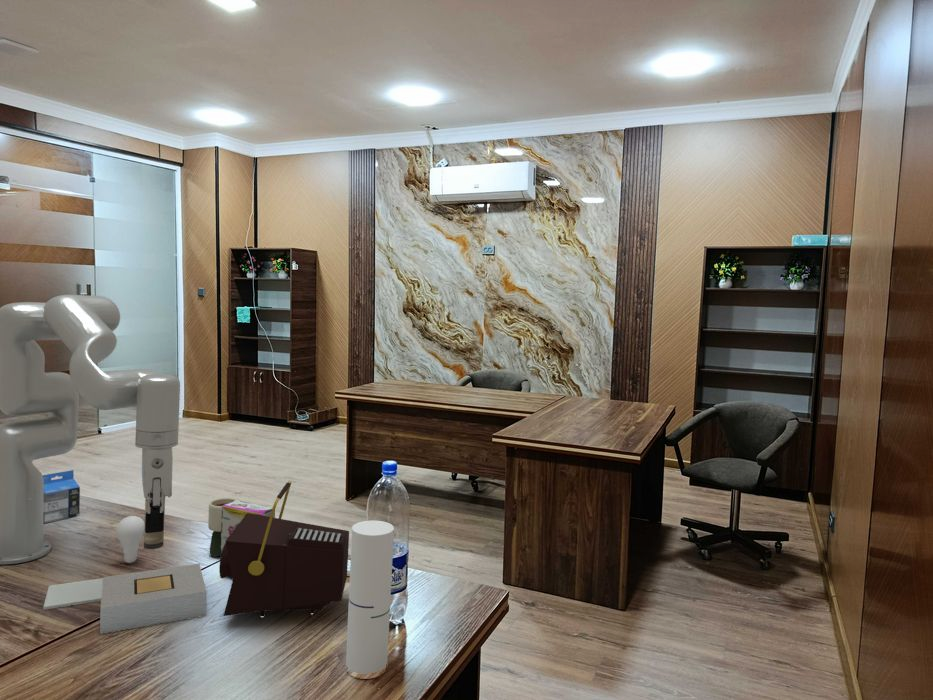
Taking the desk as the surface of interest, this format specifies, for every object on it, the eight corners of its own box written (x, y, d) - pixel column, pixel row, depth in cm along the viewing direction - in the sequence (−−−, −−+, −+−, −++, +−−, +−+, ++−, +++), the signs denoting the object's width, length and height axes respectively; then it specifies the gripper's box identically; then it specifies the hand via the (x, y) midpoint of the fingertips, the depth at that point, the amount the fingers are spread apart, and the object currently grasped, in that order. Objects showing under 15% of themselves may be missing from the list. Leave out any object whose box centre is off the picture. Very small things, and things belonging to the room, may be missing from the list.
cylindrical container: (347, 655, 111) (354, 520, 109) (387, 656, 112) (394, 521, 110) (343, 679, 104) (349, 534, 102) (386, 679, 104) (393, 535, 103)
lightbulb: (150, 558, 146) (151, 513, 146) (134, 569, 140) (135, 522, 139) (126, 556, 147) (127, 511, 146) (109, 567, 141) (110, 519, 140)
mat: (43, 610, 121) (43, 607, 121) (49, 588, 129) (49, 585, 129) (102, 600, 125) (102, 598, 125) (104, 580, 134) (104, 577, 134)
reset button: (137, 608, 119) (137, 593, 119) (136, 594, 125) (136, 580, 125) (171, 602, 122) (171, 588, 122) (169, 589, 128) (169, 575, 127)
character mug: (248, 556, 151) (250, 504, 150) (221, 564, 145) (222, 510, 144) (225, 543, 158) (226, 493, 157) (198, 551, 152) (199, 499, 151)
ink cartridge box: (44, 524, 164) (44, 478, 163) (37, 521, 166) (37, 475, 165) (79, 516, 171) (80, 472, 170) (73, 512, 173) (73, 469, 172)
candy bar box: (218, 576, 139) (220, 505, 138) (233, 568, 144) (235, 499, 143) (259, 586, 136) (262, 513, 135) (273, 577, 140) (276, 506, 139)
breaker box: (100, 634, 113) (100, 608, 113) (102, 600, 125) (103, 577, 125) (205, 615, 122) (206, 591, 122) (198, 586, 134) (199, 563, 134)
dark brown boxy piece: (239, 589, 134) (242, 476, 132) (347, 590, 136) (352, 479, 134) (215, 629, 117) (219, 500, 116) (339, 630, 119) (344, 503, 118)
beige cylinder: (143, 550, 121) (146, 490, 120) (143, 543, 124) (145, 484, 123) (163, 547, 122) (166, 488, 121) (162, 541, 125) (165, 483, 125)
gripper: (181, 446, 116) (177, 541, 117) (175, 427, 130) (172, 512, 132) (136, 448, 112) (132, 546, 114) (135, 429, 127) (132, 516, 128)
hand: (153, 527), depth 123 cm, fingers closed on beige cylinder, 3 cm apart
